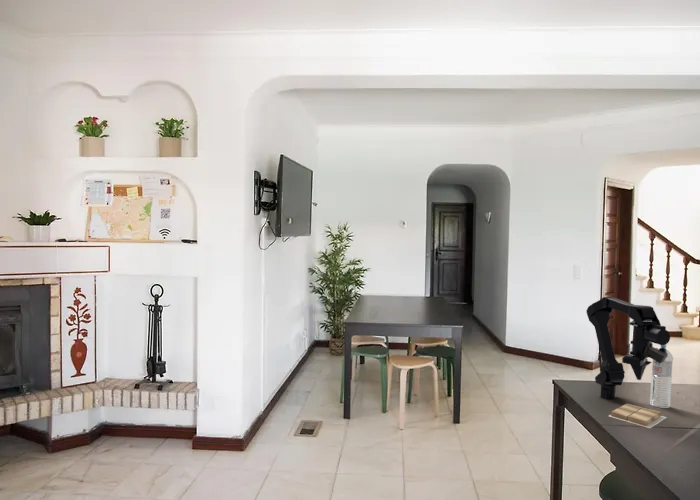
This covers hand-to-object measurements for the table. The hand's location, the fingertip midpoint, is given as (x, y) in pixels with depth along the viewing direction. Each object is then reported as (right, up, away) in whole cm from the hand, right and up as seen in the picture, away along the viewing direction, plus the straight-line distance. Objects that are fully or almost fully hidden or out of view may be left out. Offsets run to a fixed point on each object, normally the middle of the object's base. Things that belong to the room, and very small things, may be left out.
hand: (638, 379), depth 191 cm
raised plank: (-2, -12, -7) cm, 14 cm away
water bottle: (+13, -13, +8) cm, 20 cm away
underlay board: (-4, -13, -5) cm, 15 cm away
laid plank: (-6, -12, -3) cm, 14 cm away
